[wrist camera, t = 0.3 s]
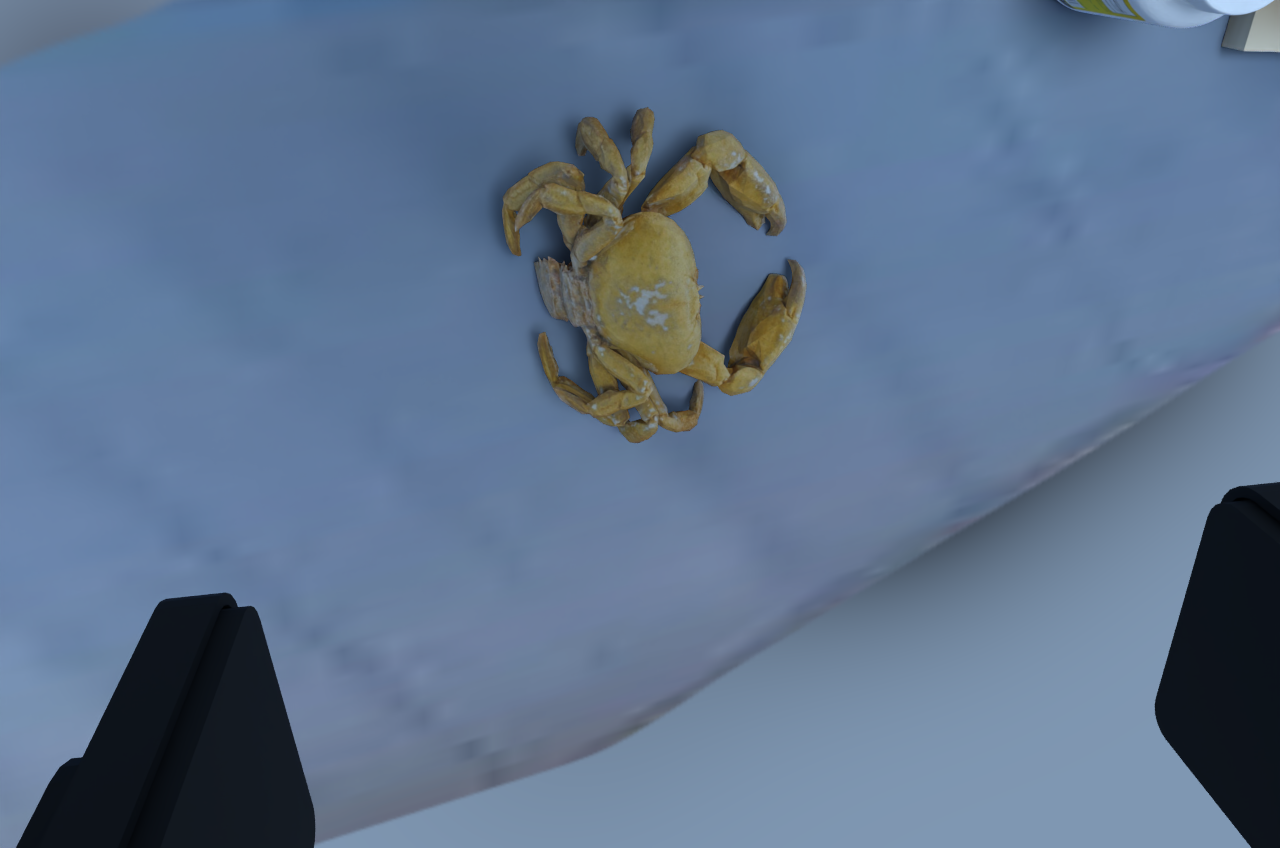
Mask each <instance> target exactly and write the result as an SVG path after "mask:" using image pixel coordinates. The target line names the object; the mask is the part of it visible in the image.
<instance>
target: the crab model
mask: <svg viewBox="0 0 1280 848" xmlns="http://www.w3.org/2000/svg"><path fill="white" fill-rule="evenodd" d="M654 120H655V118H654V113H653V111H651V110H650V109H649V108H648V107H647V108H643V109H639V110H637V112H636V114H635V116H634V118H633V121H632V126H631V129H630V134H631V142H632V145H633V147H632V149H631V165H629V166H628V167H627V168H625V166H624V163H623V160H622V158H621V155H620V153H619V150H618V149H617V147H616V145H615V144H614V142H613V140H612V139H610V138H609V137H608V134H607V133H606V131H605V129H604V128H603V126H602V125H601V123H600V122H599V121H598V119H597V118H594V117H585V118H583V119H582V121H581V122H580V123H579V124H578V128H577V133H576V143H575V148H576V151H577V154H578V156H585V154H586V151H587V150H588V151H589V152H590V153H591V154H592V155H593V157H594V158H595V160H596V161H599V163H600V167H601V169H603V170H605V171H607V172H608V173H610V174H612V178H611V179H610V180H608V181H607V183H606V184H605V185H604V187H603V188H602V189H601V190H600V191H599V192H598V193H597V194H591V193H589V192H586V191H585V183H584V179H583V177H584V174H583V173H582V172H581V171H580V170H579V169H578V168H576V167H575V166H574V165H573V164H568V163H563V162H549V163H547V164H545V165H542V166H540V167H538V168H536V169H534V170H533V171H531V172H529V173H528V176H526V177H524V178H522V179H521V180H520V181H518V182H517V183H516V184H515V185H513V186H512V187H511V188H509V189H508V190H507V192H506V193H505V194H504V196H503V201H504V205H503V209H502V217H503V225H504V231H505V237H506V243H507V244H508V246H509V248H510V250H511V252H512V254H514V255H516V256H521V250H520V235H519V229H520V228H521V227H522V226H523V225H525V224H526V223H528V222H530V221H531V220H532V219H533V217H534V216H535V215H536V214H537V213H538V212H539V211H540V210H541V209H542V208H546V209H549V210H551V211H553V212H554V213H556V214H557V221H558V225H559V227H560V229H561V231H562V234H563V241H564V243H565V244H566V246H567V247H568V249H569V250H570V251H571V254H570V257H571V261H572V262H570V263H569V264H568V266H566V265H565V261H563V263H558V262H557V261H556V260H554V259H553V258H551V257H549V256H548V260H547V259H545V258H543V260H541V259H540V258H539V257H538V259H539V262H538V261H537V262H536V263H535V262H534V265H535V270H536V274H537V279H538V283H539V287H540V293H541V295H542V298H543V301H544V303H545V305H546V307H547V309H548V311H549V313H550V315H551V316H552V317H553V318H555V319H562V320H565V321H566V322H567V321H568V320H569V321H570V322H571V324H572V325H573V326H574V327H578V326H580V327H582V329H583V331H584V333H585V334H586V337H587V347H586V352H587V356H588V363H589V370H590V374H591V377H592V379H593V382H594V385H595V387H596V390H597V393H598V396H597V397H596V398H595V397H594V396H593V395H592V394H590V393H589V392H587V391H585V390H583V389H582V388H581V387H579V386H578V385H577V384H575V383H574V382H573V381H571V380H570V379H568V378H566V377H565V376H558V372H559V367H558V365H557V363H556V360H555V358H554V356H553V351H552V346H550V344H549V341H548V338H547V335H546V332H543V333H541V334H539V338H538V343H537V346H538V350H539V354H540V358H541V361H542V365H543V368H544V371H545V374H546V376H547V378H548V380H549V382H550V383H551V385H552V387H553V389H554V391H555V392H556V394H557V395H558V397H559V398H560V400H562V401H563V402H565V403H566V404H567V405H569V406H570V407H572V408H573V409H575V410H576V411H578V412H580V413H581V414H590V415H592V416H593V418H596V419H598V420H599V421H601V422H602V423H603V424H606V425H609V426H617V427H618V429H619V431H620V432H621V434H622V435H623V436H624V437H625V438H626V439H627V440H628V441H629V442H632V443H640V442H641V441H644V440H648V439H649V438H650V437H651V436H652V435H653V434H655V433H656V431H657V429H658V425H660V426H661V427H663V428H665V429H667V430H670V431H673V432H681V431H690V430H691V429H692V428H693V427H695V426H696V425H697V421H698V418H699V416H700V413H701V409H702V405H703V399H704V389H703V382H705V383H707V384H709V385H711V386H718V387H719V389H720V390H721V391H722V392H724V393H726V394H728V395H730V396H733V395H737V394H741V393H745V392H748V391H751V390H752V389H753V388H754V387H755V386H756V385H757V384H758V383H759V381H760V380H761V379H762V378H763V376H764V374H765V372H766V371H767V370H768V369H769V368H770V367H771V366H772V364H773V363H774V362H775V361H776V359H777V358H778V357H779V356H780V354H781V353H782V352H783V350H784V349H785V348H786V346H787V345H788V344H789V343H790V341H791V340H792V337H793V334H794V331H795V329H796V326H797V323H798V320H799V318H800V315H801V311H802V308H803V305H804V300H805V293H806V287H807V284H806V279H805V274H804V269H803V268H802V267H801V266H800V264H799V263H798V262H797V261H796V260H788V259H787V260H788V262H789V264H790V266H791V270H792V283H791V286H790V289H789V287H788V282H787V279H786V277H785V276H783V275H779V274H769V276H768V278H767V280H766V282H765V284H764V285H763V287H762V289H761V291H760V292H759V293H758V295H757V296H756V297H755V298H754V300H753V301H752V303H751V305H750V307H749V308H748V310H747V312H746V313H745V314H744V316H743V318H742V320H741V322H740V324H739V326H738V329H737V333H736V336H735V339H734V341H733V343H732V346H731V348H730V351H729V356H730V360H729V362H728V368H726V367H725V365H724V357H725V355H723V354H721V353H719V352H718V351H716V350H715V349H713V348H711V347H710V346H708V345H707V344H705V343H703V342H702V341H700V340H701V319H700V307H701V304H700V302H699V299H701V298H703V297H704V296H701V295H699V294H698V291H699V290H700V289H701V288H702V287H704V286H702V285H698V284H697V279H698V269H697V268H696V263H695V258H694V253H693V250H692V247H691V244H690V241H689V240H688V238H687V236H686V235H685V233H684V231H683V230H682V229H681V228H680V227H679V226H678V225H677V224H676V223H675V222H674V221H673V220H672V219H670V218H668V217H667V216H669V215H672V214H674V213H677V212H679V211H681V210H682V209H684V208H686V207H687V206H689V205H690V204H691V203H693V202H694V201H695V200H696V199H697V198H698V197H699V196H701V195H702V193H703V192H704V191H705V190H706V188H707V187H708V179H709V176H710V177H711V179H712V181H713V183H714V185H715V186H716V187H717V189H718V190H719V191H720V193H721V194H722V196H723V197H724V198H725V199H726V200H727V201H728V202H729V203H730V204H731V205H732V206H733V207H734V208H735V209H736V210H737V211H738V212H739V213H741V214H742V215H743V217H744V219H745V220H746V222H747V224H748V225H750V226H751V227H753V228H755V229H756V230H759V228H760V227H761V226H762V224H763V223H765V216H766V217H767V219H768V220H769V221H770V223H771V228H770V229H769V231H768V232H767V234H766V235H770V236H778V235H779V234H780V232H781V231H782V230H783V229H784V228H785V225H786V222H787V219H786V213H785V206H784V203H783V199H782V197H781V196H780V194H779V192H778V189H777V187H776V184H775V182H774V181H773V180H772V179H771V177H770V176H769V175H768V174H767V172H766V171H765V170H764V169H763V167H762V166H761V165H760V164H759V163H758V162H757V161H756V160H755V159H754V158H753V157H752V156H751V155H750V154H749V153H748V152H747V151H746V150H744V148H743V147H742V145H741V143H740V142H739V141H738V140H737V139H736V138H735V137H734V136H733V135H732V134H731V133H728V132H726V131H723V130H718V131H712V132H709V133H707V134H704V135H701V136H699V137H698V138H697V142H696V146H694V147H692V148H691V149H690V150H689V151H688V152H687V153H686V154H685V155H684V156H683V157H682V158H681V159H680V160H679V161H678V162H677V163H676V164H675V165H674V166H673V167H672V168H671V169H670V170H669V171H668V172H667V173H666V174H665V175H664V176H663V177H662V178H661V180H660V181H659V182H658V183H657V184H656V186H655V187H654V188H653V189H652V190H651V192H650V193H649V195H648V197H647V198H646V200H645V201H644V203H643V205H642V206H641V212H639V213H635V214H631V215H629V216H627V217H625V218H623V219H622V212H623V204H624V203H625V201H626V199H627V198H628V196H629V195H630V194H631V193H632V191H633V190H634V189H635V188H636V187H637V186H638V184H639V183H640V182H641V181H642V180H643V179H644V177H645V172H646V166H647V164H648V161H649V158H650V155H651V153H652V148H653V139H652V131H653V125H654ZM515 211H519V212H518V214H516V212H515ZM585 214H587V215H586V217H585ZM584 217H585V218H584ZM583 220H584V225H582V223H583ZM648 370H649V371H651V372H653V373H654V374H656V375H659V374H675V373H677V372H681V373H683V374H686V375H688V376H691V377H693V378H696V379H698V381H697V382H696V383H695V384H694V389H693V395H692V397H691V400H690V405H689V410H687V411H677V412H674V411H673V412H670V413H668V411H667V407H666V405H665V404H664V402H663V401H662V399H661V397H660V395H659V393H658V391H657V389H656V386H655V384H654V382H653V380H652V377H651V375H650V373H649V372H648ZM617 379H619V380H620V382H621V384H622V385H623V386H624V388H625V389H626V390H621V391H620V390H619V388H618V383H617ZM700 380H701V381H700ZM702 381H703V382H702ZM633 407H635V408H636V409H637V411H638V412H639V414H640V416H641V419H639V420H635V421H632V422H630V421H629V420H628V419H629V418H630V416H629V412H628V409H630V408H633Z"/></svg>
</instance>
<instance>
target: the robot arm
mask: <svg viewBox="0 0 1280 848" xmlns="http://www.w3.org/2000/svg"><path fill="white" fill-rule="evenodd" d="M1155 715H1156V719H1157V723H1158V726H1159V728H1160V730H1161V732H1162V734H1163V736H1164V737H1165V739H1166V740H1167V741H1168V743H1169V744H1170V745H1171V746H1172V748H1173V749H1174V750H1175V751H1176V753H1177V754H1178V755H1179V756H1180V758H1181V759H1182V760H1183V762H1184V763H1185V764H1186V765H1187V767H1188V768H1189V769H1190V771H1191V772H1192V773H1193V774H1194V775H1195V777H1196V778H1197V779H1198V781H1199V782H1200V783H1201V784H1202V786H1203V787H1204V788H1205V790H1206V791H1207V792H1208V793H1209V795H1210V796H1211V797H1212V798H1213V800H1214V801H1215V802H1216V803H1217V805H1218V806H1219V807H1220V808H1221V810H1222V811H1223V812H1224V813H1225V815H1226V816H1227V817H1228V818H1229V820H1230V821H1231V822H1232V824H1233V825H1234V826H1235V828H1236V829H1237V830H1238V831H1239V833H1240V834H1241V835H1242V836H1243V838H1244V839H1245V840H1246V841H1247V843H1248V844H1249V845H1250V846H1251V848H1280V482H1277V483H1268V484H1258V485H1248V486H1239V487H1236V488H1233V489H1230V490H1229V492H1228V493H1226V494H1225V495H1224V497H1223V499H1222V501H1221V503H1220V504H1217V505H1215V506H1214V507H1213V508H1212V509H1211V511H1210V513H1209V515H1208V517H1207V521H1206V524H1205V528H1204V531H1203V535H1202V538H1201V542H1200V545H1199V549H1198V552H1197V556H1196V559H1195V563H1194V566H1193V570H1192V574H1191V577H1190V580H1189V584H1188V587H1187V591H1186V594H1185V598H1184V602H1183V605H1182V608H1181V612H1180V615H1179V619H1178V622H1177V626H1176V629H1175V633H1174V636H1173V640H1172V644H1171V647H1170V650H1169V654H1168V658H1167V661H1166V665H1165V668H1164V671H1163V675H1162V679H1161V682H1160V686H1159V689H1158V692H1157V696H1156V700H1155ZM314 842H315V815H314V808H313V804H312V800H311V797H310V793H309V790H308V786H307V783H306V779H305V776H304V772H303V769H302V765H301V762H300V758H299V755H298V751H297V747H296V744H295V740H294V737H293V733H292V730H291V726H290V723H289V719H288V716H287V712H286V709H285V705H284V702H283V698H282V695H281V691H280V688H279V684H278V681H277V677H276V674H275V670H274V667H273V663H272V660H271V656H270V653H269V649H268V646H267V642H266V639H265V635H264V632H263V628H262V625H261V621H260V618H259V615H258V613H257V611H256V609H255V608H254V607H252V606H246V607H238V606H237V603H236V601H235V599H234V598H233V597H232V595H231V594H228V593H218V594H208V595H199V596H189V597H180V598H170V599H165V600H163V601H161V602H159V604H158V605H157V607H156V608H155V610H154V612H153V614H152V616H151V618H150V620H149V622H148V624H147V626H146V628H145V630H144V632H143V634H142V636H141V638H140V641H139V643H138V645H137V647H136V649H135V651H134V653H133V655H132V657H131V659H130V661H129V663H128V665H127V667H126V669H125V671H124V673H123V675H122V677H121V679H120V682H119V684H118V686H117V688H116V690H115V692H114V694H113V696H112V698H111V700H110V702H109V704H108V706H107V708H106V710H105V712H104V714H103V716H102V718H101V721H100V723H99V725H98V727H97V729H96V731H95V733H94V735H93V737H92V739H91V741H90V743H89V745H88V747H87V749H86V751H85V753H84V755H83V757H81V758H72V759H70V760H69V761H67V762H66V763H65V764H63V765H62V766H61V767H60V768H59V769H58V771H57V772H56V774H55V775H54V777H53V778H52V780H51V781H50V782H49V784H48V786H47V788H46V790H45V792H44V794H43V796H42V798H41V800H40V802H39V804H38V806H37V808H36V810H35V812H34V814H33V816H32V818H31V819H30V821H29V823H28V825H27V827H26V829H25V831H24V833H23V835H22V837H21V839H20V841H19V843H18V845H17V847H16V848H314Z"/></svg>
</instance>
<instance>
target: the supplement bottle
mask: <svg viewBox="0 0 1280 848" xmlns="http://www.w3.org/2000/svg"><path fill="white" fill-rule="evenodd" d="M1057 1H1058V2H1060V3H1061V4H1063V5H1064V6H1066V7H1068V8H1070V9H1072V10H1075V11H1079V12H1083V13H1089V14H1094V15H1100V16H1106V17H1112V18H1118V19H1123V20H1129V21H1135V22H1140V23H1146V24H1151V25H1157V26H1162V27H1169V28H1191V27H1196V26H1200V25H1203V24H1206V23H1209V22H1211V21H1213V20H1215V19H1217V18H1219V17H1221V16H1223V15H1243V14H1248V13H1251V12H1254V11H1257V10H1259V9H1261V8H1263V7H1265V6H1267V5H1268V4H1270V3H1271V2H1273V1H1274V0H1057Z"/></svg>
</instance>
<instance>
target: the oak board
mask: <svg viewBox="0 0 1280 848" xmlns="http://www.w3.org/2000/svg"><path fill="white" fill-rule="evenodd" d="M1222 47H1226V48H1231V49H1236V50H1240V51H1259V52H1280V0H1274V1H1273V2H1271V3H1270V4H1268V5H1267V6H1265V7H1263V8H1261V9H1259V10H1257V11H1254V12H1251V13H1248V14H1243V15H1231V16H1230V19H1229V22H1228V26H1227V29H1226V32H1225V36H1224V39H1223V43H1222Z"/></svg>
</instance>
